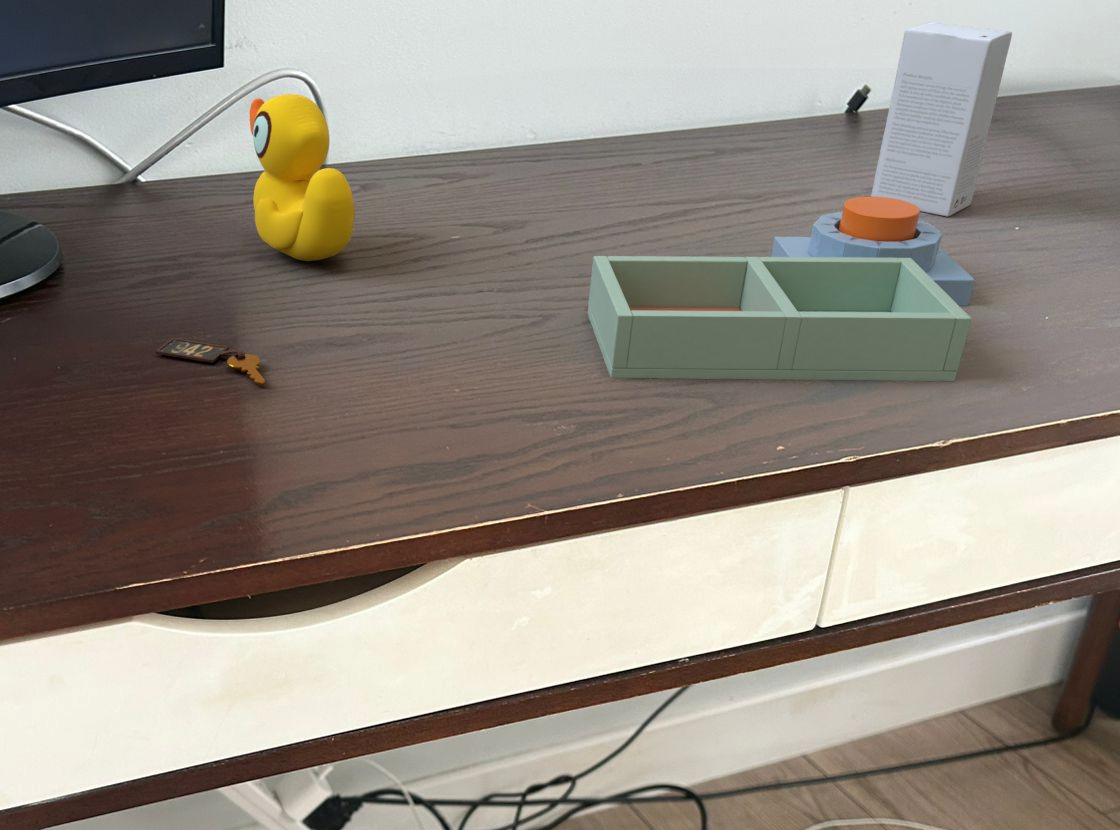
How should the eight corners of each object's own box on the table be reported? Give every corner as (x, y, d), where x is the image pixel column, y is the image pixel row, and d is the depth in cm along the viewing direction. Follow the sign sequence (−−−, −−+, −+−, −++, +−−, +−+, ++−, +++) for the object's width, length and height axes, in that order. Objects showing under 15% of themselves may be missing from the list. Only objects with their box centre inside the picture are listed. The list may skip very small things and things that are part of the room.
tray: (897, 316, 81) (911, 257, 79) (955, 382, 73) (972, 318, 71) (587, 314, 82) (593, 255, 80) (610, 378, 74) (618, 315, 72)
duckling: (223, 236, 95) (217, 85, 89) (291, 223, 97) (289, 76, 91) (302, 285, 86) (300, 122, 81) (375, 270, 88) (377, 111, 83)
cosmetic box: (972, 206, 100) (1016, 31, 93) (948, 219, 97) (992, 40, 91) (891, 189, 103) (929, 20, 97) (866, 202, 101) (903, 28, 94)
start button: (900, 223, 86) (906, 196, 85) (923, 246, 82) (930, 217, 82) (829, 223, 86) (835, 195, 85) (850, 246, 83) (856, 217, 82)
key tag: (148, 351, 77) (147, 341, 77) (183, 335, 79) (182, 325, 79) (261, 386, 73) (261, 376, 72) (296, 368, 75) (295, 358, 74)
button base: (923, 262, 89) (936, 209, 87) (968, 306, 83) (983, 250, 81) (769, 261, 90) (779, 208, 88) (801, 305, 83) (812, 249, 81)
